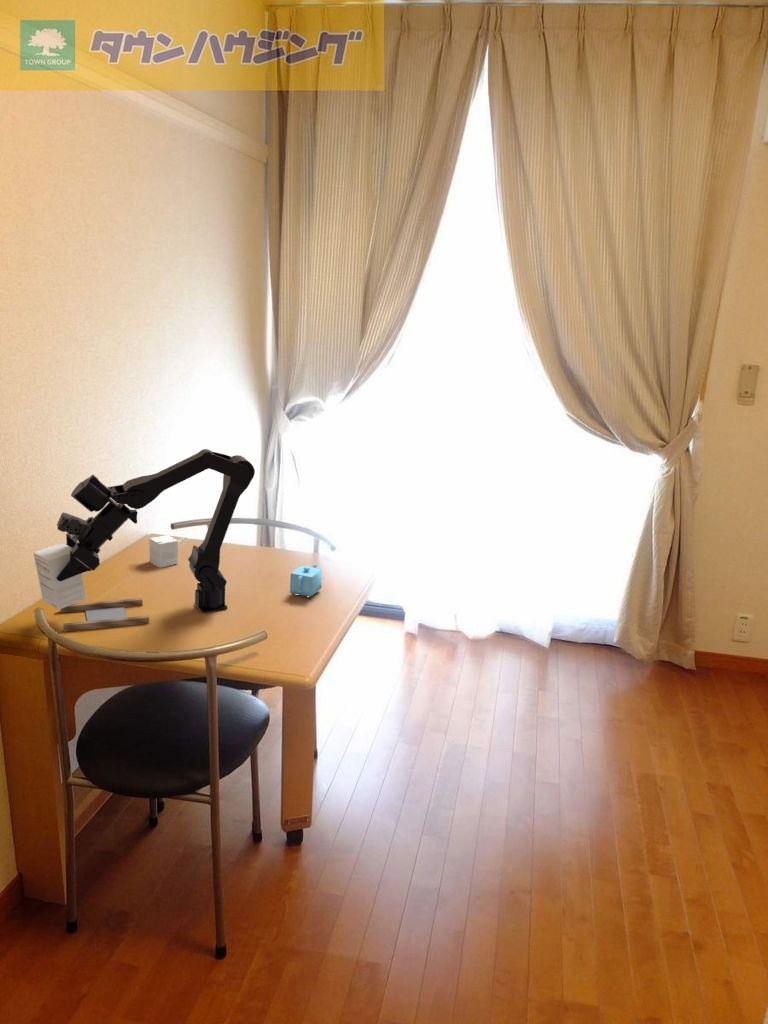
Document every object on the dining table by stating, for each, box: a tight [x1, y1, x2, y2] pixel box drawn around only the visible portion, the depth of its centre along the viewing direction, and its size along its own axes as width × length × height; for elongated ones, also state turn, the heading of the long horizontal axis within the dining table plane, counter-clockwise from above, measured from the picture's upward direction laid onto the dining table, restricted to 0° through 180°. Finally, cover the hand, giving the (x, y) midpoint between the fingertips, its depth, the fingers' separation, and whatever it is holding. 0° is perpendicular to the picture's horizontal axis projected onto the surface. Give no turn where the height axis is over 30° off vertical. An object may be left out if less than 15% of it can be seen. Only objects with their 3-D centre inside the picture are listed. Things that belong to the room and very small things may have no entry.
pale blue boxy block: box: [289, 562, 323, 597], centre depth 218 cm, size 12×6×8 cm, turn 162°
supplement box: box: [32, 542, 87, 611], centre depth 187 cm, size 7×7×13 cm
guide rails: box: [60, 597, 150, 633], centre depth 194 cm, size 19×12×2 cm, turn 114°
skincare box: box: [148, 534, 179, 569], centre depth 231 cm, size 6×6×7 cm
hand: (57, 573), depth 187 cm, fingers closed on supplement box, 9 cm apart
